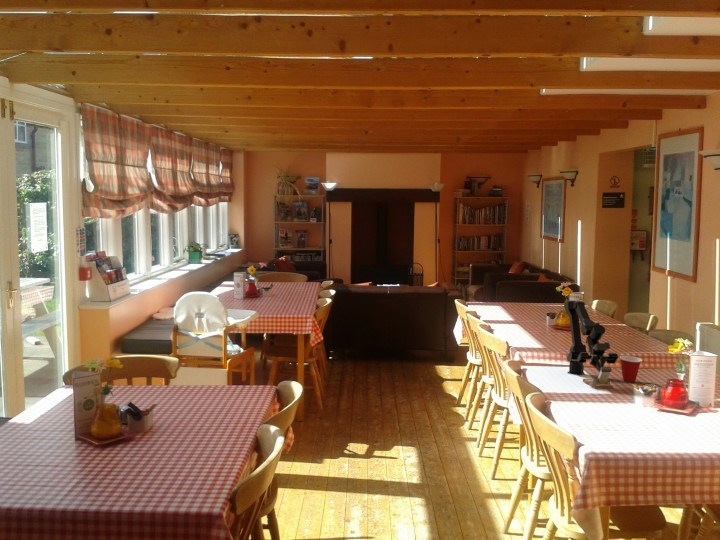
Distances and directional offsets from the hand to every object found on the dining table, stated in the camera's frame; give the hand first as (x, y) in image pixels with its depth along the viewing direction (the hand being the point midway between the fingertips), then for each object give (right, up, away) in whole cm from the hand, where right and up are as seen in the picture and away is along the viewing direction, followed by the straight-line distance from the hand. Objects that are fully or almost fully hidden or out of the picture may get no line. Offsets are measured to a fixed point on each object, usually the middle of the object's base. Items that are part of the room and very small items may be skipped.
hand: (601, 372), depth 345 cm
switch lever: (0, -5, 0) cm, 5 cm away
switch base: (0, -7, +5) cm, 8 cm away
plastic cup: (+19, -7, +16) cm, 26 cm away
